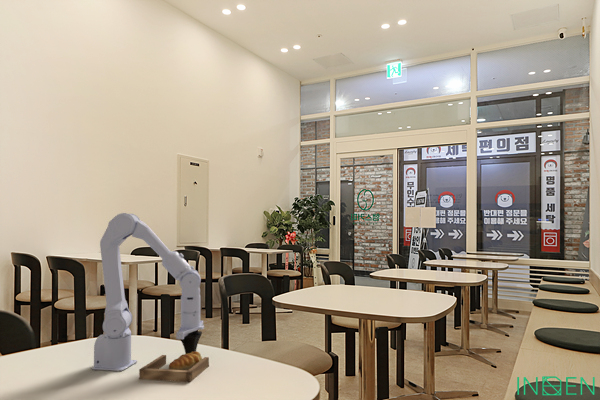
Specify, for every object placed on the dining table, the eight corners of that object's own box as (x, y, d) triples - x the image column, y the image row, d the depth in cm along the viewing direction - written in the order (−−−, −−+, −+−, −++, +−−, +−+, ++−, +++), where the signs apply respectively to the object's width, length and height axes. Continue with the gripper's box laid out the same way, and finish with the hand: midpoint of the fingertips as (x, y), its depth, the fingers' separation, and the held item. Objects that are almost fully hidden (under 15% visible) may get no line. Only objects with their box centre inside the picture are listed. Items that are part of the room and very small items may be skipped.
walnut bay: (139, 379, 110) (139, 369, 111) (162, 363, 122) (162, 354, 123) (190, 382, 108) (190, 372, 108) (208, 366, 120) (208, 357, 120)
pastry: (177, 375, 113) (177, 361, 113) (163, 370, 117) (163, 356, 117) (205, 366, 120) (205, 352, 120) (190, 361, 124) (190, 348, 125)
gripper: (192, 317, 118) (192, 366, 117) (212, 306, 132) (212, 350, 131) (169, 316, 119) (169, 365, 118) (191, 306, 133) (191, 349, 132)
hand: (190, 357), depth 125 cm, fingers closed
